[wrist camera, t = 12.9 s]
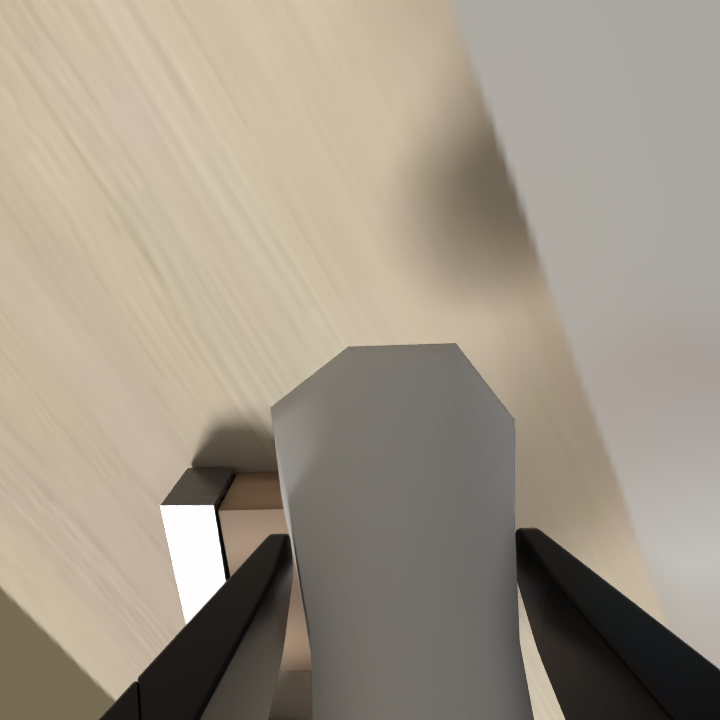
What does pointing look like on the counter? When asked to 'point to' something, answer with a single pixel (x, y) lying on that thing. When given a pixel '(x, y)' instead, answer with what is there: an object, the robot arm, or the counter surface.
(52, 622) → the counter surface
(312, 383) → the flask
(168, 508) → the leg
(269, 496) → the tan square panel
